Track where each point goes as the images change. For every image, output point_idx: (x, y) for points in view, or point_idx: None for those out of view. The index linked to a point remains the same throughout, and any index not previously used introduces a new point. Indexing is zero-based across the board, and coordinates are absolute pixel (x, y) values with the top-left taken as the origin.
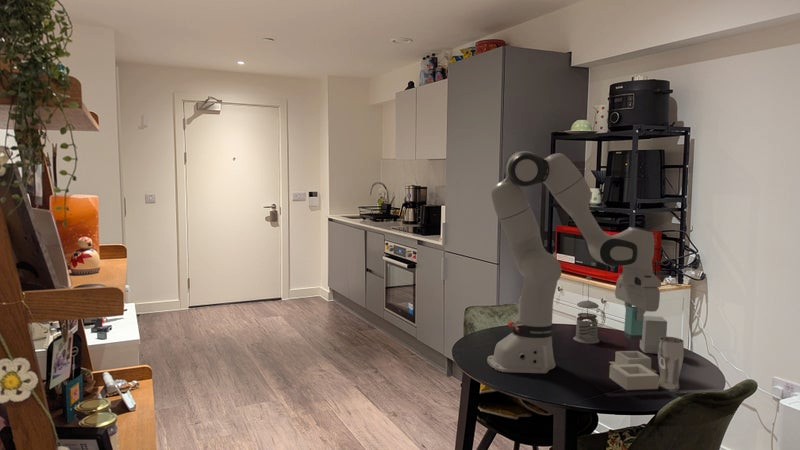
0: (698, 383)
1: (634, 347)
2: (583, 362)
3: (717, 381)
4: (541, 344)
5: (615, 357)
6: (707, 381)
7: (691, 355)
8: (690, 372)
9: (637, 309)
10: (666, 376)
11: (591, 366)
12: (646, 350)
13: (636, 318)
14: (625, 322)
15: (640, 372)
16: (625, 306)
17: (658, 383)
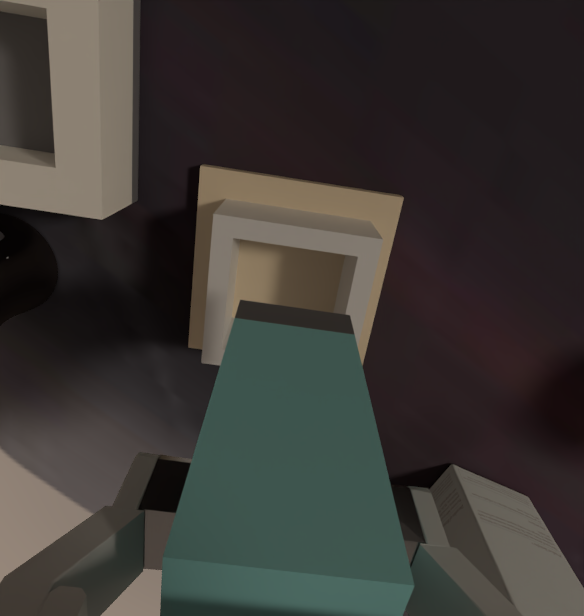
0: (65, 427)
1: (554, 488)
2: (487, 45)
3: (82, 503)
4: None
5: (373, 229)
6: (85, 472)
7: None
8: None
9: (76, 606)
10: None
11: (403, 51)
12: (451, 485)
13: (158, 470)
14: (352, 389)
15: (31, 158)
16: (498, 607)
17: (5, 224)
